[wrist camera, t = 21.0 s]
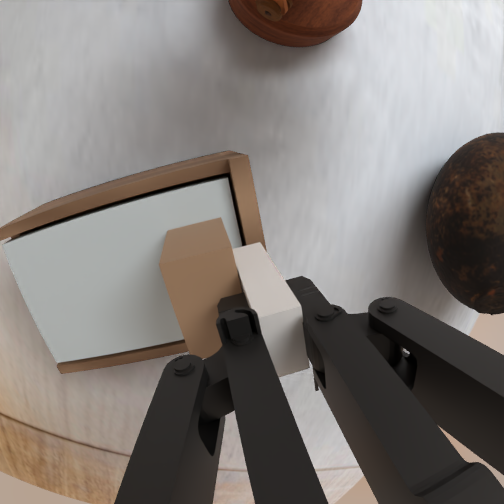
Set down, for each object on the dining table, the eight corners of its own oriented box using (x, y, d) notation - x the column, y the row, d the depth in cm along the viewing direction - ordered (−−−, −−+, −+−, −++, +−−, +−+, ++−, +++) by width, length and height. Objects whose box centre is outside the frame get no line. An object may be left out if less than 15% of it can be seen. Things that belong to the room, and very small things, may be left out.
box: (44, 203, 23) (-10, 233, 14) (229, 150, 24) (248, 155, 16) (87, 317, 27) (58, 379, 18) (255, 277, 28) (281, 333, 20)
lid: (9, 240, 16) (-42, 277, 11) (225, 175, 18) (241, 193, 12) (60, 354, 20) (35, 411, 14) (255, 313, 21) (277, 371, 15)
